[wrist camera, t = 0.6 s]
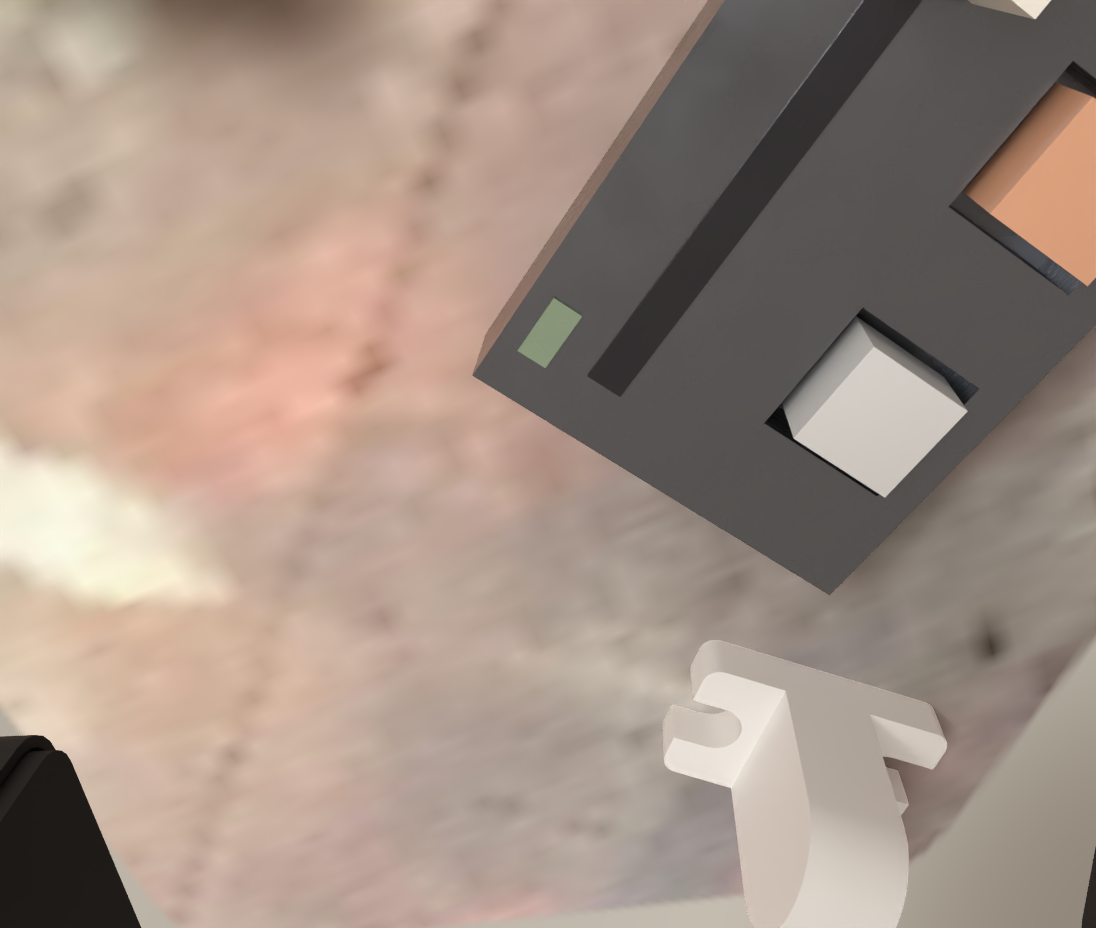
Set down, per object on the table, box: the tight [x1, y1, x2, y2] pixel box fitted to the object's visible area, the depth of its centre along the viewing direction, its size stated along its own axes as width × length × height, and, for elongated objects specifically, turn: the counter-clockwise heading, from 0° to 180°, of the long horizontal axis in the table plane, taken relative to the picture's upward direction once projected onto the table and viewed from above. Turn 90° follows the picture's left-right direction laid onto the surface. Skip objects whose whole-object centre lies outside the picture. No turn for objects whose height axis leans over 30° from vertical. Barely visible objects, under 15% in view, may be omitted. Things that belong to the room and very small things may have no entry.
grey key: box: [782, 317, 968, 498], centre depth 31 cm, size 4×4×2 cm
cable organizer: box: [662, 640, 947, 928], centre depth 37 cm, size 5×10×10 cm, turn 72°
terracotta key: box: [963, 83, 1096, 286], centre depth 28 cm, size 4×4×2 cm
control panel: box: [473, 0, 1096, 595], centre depth 30 cm, size 20×14×4 cm
